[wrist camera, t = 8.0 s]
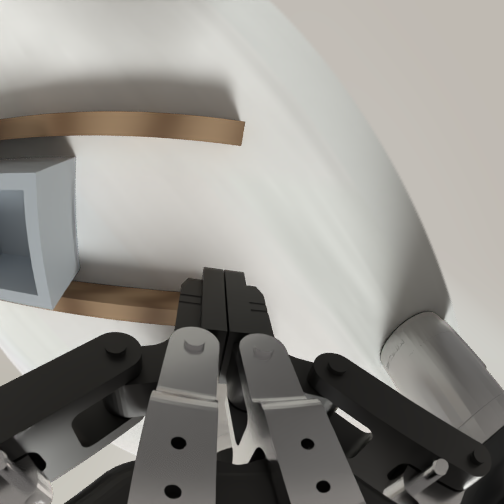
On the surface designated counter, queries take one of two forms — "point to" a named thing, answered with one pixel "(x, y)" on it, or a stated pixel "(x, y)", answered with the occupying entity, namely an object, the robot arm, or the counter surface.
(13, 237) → the box
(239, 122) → the bay
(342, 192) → the counter surface
